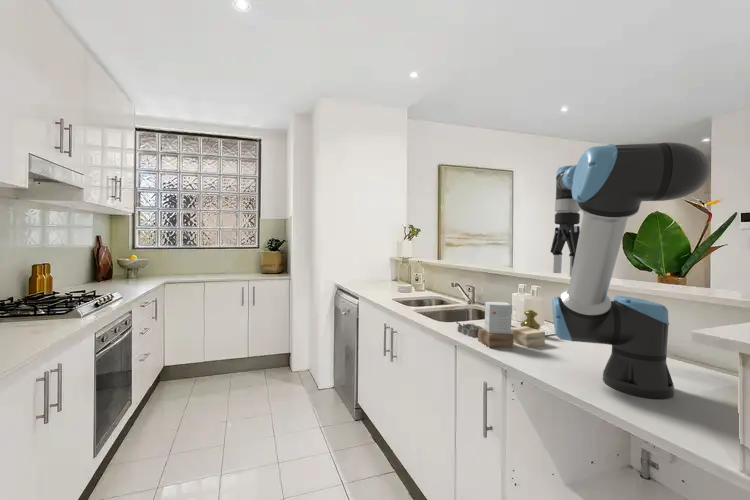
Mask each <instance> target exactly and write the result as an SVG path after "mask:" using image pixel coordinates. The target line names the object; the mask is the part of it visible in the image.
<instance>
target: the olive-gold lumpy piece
mask: <svg viewBox="0 0 750 500" xmlns="http://www.w3.org/2000/svg"><path fill="white" fill-rule="evenodd" d="M523 314H524V315H525V316H526V318H525V319H524V321H522V322H521V323H520V327H523V326H526V327H530V328H533V329H537V330H540V329H541V324H540V323H539V322H538V321H536V319H535V317H537V316H538V312H537V311H534V310H531V309H528V310H526V311H524V313H523Z"/></svg>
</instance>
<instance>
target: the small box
mask: <svg viewBox="0 0 750 500" xmlns="http://www.w3.org/2000/svg"><path fill="white" fill-rule="evenodd" d="M484 303H485V305H484V306H485V307H484V308H485V311H484V329H485V330H486V331H487V332H488V333H493V334H511V328H512V311H513V310H512V309H513V307H512V306H513V305H512V304H510V303H508V302H507V301H506V302H504V301H502V302H501V301H485V302H484Z"/></svg>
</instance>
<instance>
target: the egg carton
mask: <svg viewBox="0 0 750 500" xmlns="http://www.w3.org/2000/svg"><path fill="white" fill-rule="evenodd" d="M455 323H456V324H457V326H456V329H457V332H458V333H462V334H463V335H466V336H468V337H472V338H473V337H476V336H477V337H478V329H484V327H482V326H480V325H476V324H474V323H473V322H471V323H466V324H465V323H463V324H461V322H458V321H456V322H455Z"/></svg>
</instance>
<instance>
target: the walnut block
mask: <svg viewBox="0 0 750 500" xmlns="http://www.w3.org/2000/svg"><path fill="white" fill-rule="evenodd" d="M477 341H478V343H480V342H481V343H480V344H482V345H483V344H484V345H483V346H485V345H486V346H485V347H487V348H488V347H489V348H488V349H510V348H511V349H512V348H514V343H513V334H493V333H488V332H487V331H486V330H485V328H483V329H478V336H477Z"/></svg>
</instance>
